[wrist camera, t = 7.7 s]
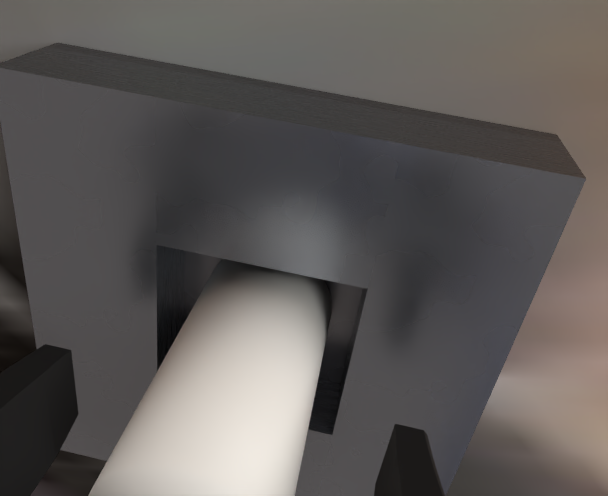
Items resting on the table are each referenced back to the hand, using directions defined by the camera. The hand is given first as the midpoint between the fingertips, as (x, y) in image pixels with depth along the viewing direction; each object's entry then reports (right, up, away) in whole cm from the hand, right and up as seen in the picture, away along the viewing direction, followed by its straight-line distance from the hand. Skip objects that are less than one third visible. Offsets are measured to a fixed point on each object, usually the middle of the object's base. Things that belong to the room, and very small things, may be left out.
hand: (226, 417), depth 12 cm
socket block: (+1, +2, +4) cm, 5 cm away
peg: (+1, +2, +4) cm, 4 cm away
